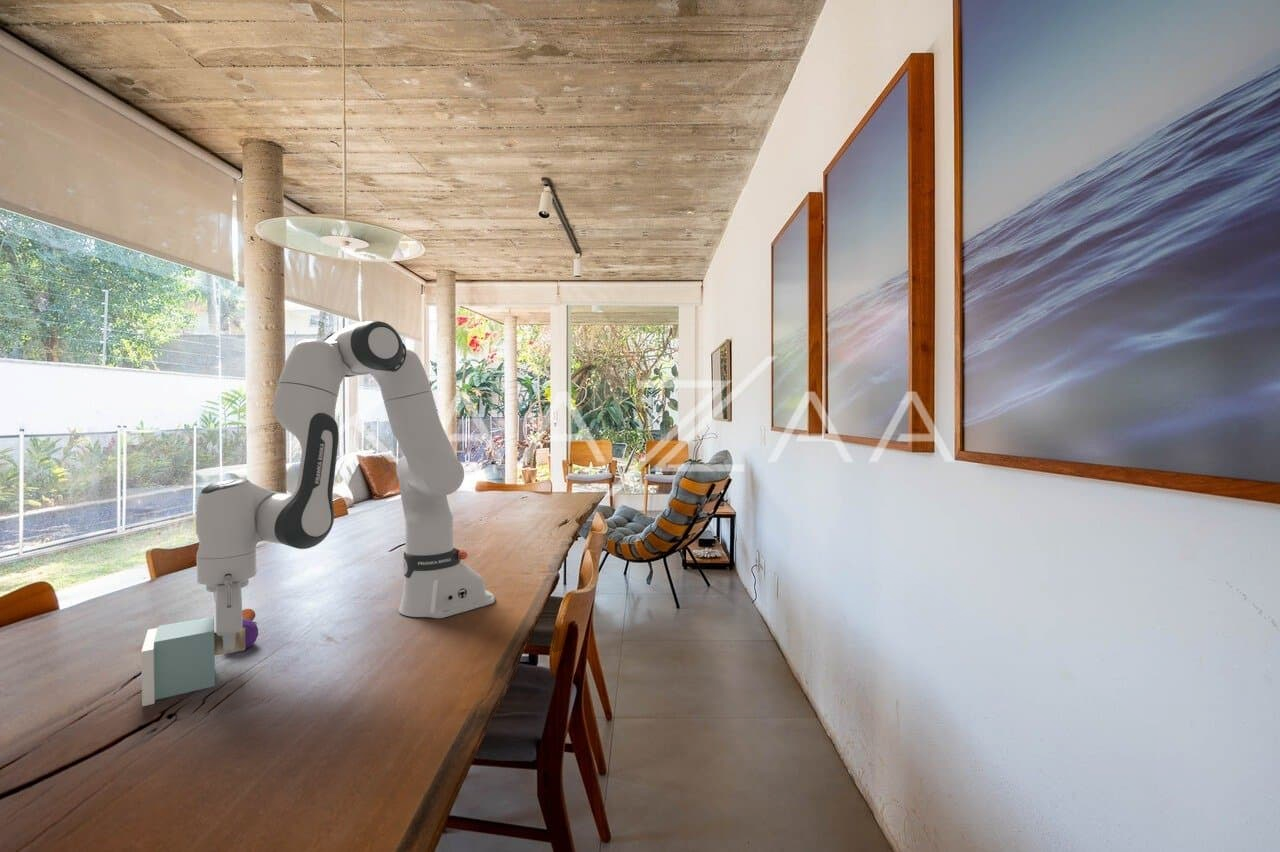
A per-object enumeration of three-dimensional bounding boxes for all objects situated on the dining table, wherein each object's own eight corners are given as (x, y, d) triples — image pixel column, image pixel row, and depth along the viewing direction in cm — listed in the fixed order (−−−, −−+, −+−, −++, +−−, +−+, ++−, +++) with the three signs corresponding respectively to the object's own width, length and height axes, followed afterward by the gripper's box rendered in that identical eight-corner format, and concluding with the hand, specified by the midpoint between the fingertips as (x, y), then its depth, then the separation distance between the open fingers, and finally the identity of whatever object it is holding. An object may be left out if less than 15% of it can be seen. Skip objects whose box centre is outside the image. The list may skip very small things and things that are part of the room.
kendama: (264, 603, 132) (260, 623, 115) (259, 629, 131) (254, 653, 114) (233, 602, 129) (224, 623, 112) (228, 629, 128) (217, 654, 111)
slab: (159, 676, 103) (158, 627, 103) (154, 703, 93) (153, 649, 93) (148, 679, 102) (147, 629, 102) (142, 706, 92) (141, 651, 92)
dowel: (244, 645, 107) (244, 624, 107) (245, 653, 104) (245, 631, 104) (175, 657, 101) (176, 635, 101) (174, 666, 98) (175, 643, 98)
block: (214, 667, 107) (213, 616, 106) (214, 686, 99) (214, 630, 99) (159, 679, 102) (158, 626, 102) (155, 699, 95) (154, 642, 94)
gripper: (251, 578, 97) (252, 658, 98) (245, 555, 114) (247, 623, 114) (205, 585, 94) (206, 668, 94) (206, 560, 110) (207, 631, 110)
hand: (228, 643), depth 104 cm, fingers closed on dowel, 4 cm apart
